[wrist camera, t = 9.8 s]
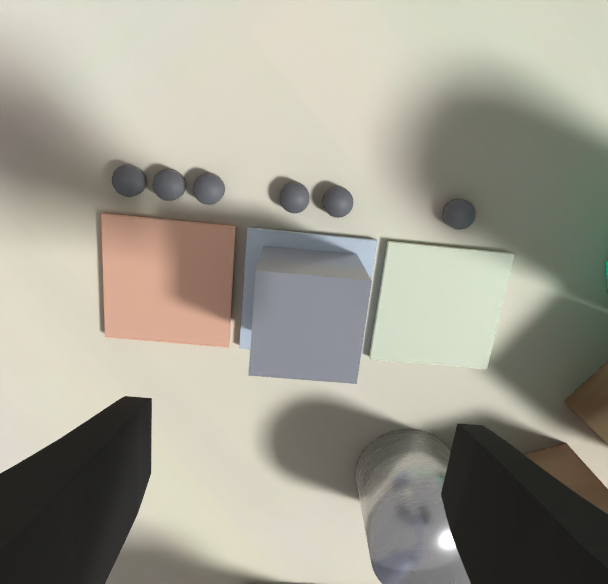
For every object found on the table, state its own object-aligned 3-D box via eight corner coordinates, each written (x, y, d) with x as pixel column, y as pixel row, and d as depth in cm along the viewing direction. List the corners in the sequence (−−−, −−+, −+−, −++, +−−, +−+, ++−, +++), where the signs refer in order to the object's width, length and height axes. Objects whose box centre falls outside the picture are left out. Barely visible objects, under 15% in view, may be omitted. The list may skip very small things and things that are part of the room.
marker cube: (345, 340, 21) (356, 383, 17) (256, 332, 21) (248, 375, 17) (357, 254, 20) (371, 280, 16) (263, 245, 20) (255, 270, 16)
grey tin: (443, 513, 25) (478, 603, 20) (349, 507, 24) (362, 596, 20) (462, 432, 23) (505, 508, 18) (362, 425, 23) (380, 500, 18)
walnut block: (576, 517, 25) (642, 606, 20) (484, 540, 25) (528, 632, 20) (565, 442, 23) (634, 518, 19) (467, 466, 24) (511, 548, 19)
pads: (484, 366, 22) (488, 371, 21) (107, 334, 21) (103, 338, 21) (523, 205, 20) (529, 207, 19) (102, 162, 19) (97, 162, 18)
